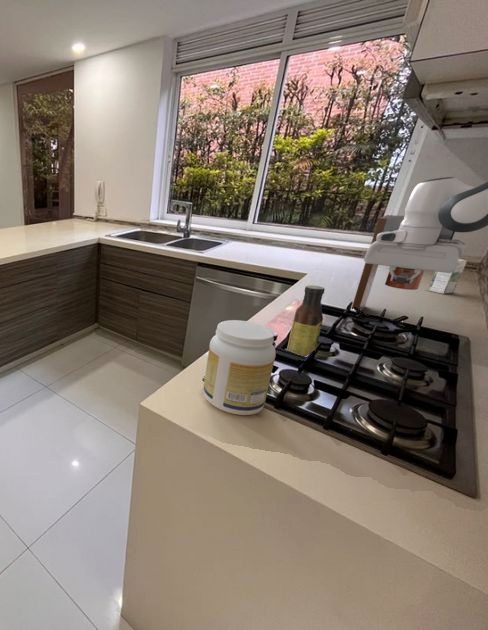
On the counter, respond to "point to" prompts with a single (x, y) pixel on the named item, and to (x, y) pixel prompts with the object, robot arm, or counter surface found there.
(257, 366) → the supplement tub
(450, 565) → the counter surface
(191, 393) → the counter surface
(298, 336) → the sauce bottle
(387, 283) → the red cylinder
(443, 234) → the flag
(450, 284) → the syrup box
